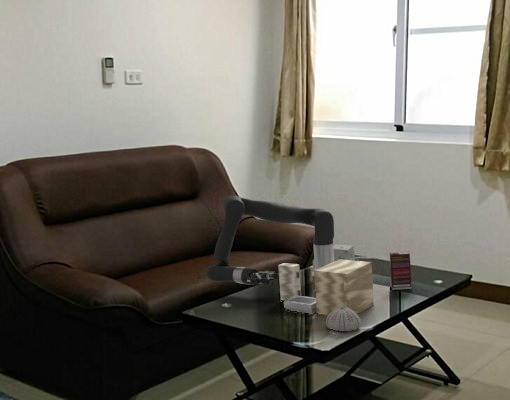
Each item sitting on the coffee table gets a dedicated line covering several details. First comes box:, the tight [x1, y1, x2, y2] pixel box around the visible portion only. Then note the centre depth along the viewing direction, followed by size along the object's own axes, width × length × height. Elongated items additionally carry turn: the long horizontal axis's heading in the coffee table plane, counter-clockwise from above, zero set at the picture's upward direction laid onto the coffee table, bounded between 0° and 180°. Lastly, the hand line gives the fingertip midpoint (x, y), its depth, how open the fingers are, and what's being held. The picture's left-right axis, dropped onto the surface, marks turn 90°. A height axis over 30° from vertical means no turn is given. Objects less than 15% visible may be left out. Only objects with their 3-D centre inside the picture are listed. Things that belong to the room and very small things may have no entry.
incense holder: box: [333, 244, 356, 262], centre depth 394 cm, size 10×8×10 cm
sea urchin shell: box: [325, 307, 362, 332], centre depth 299 cm, size 13×14×8 cm
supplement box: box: [389, 251, 413, 291], centre depth 347 cm, size 9×5×16 cm, turn 84°
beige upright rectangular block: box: [278, 262, 302, 301], centre depth 339 cm, size 9×4×16 cm, turn 53°
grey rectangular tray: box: [283, 295, 317, 315], centre depth 327 cm, size 13×9×4 cm
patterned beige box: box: [311, 259, 375, 316], centre depth 323 cm, size 17×20×18 cm
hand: (275, 279), depth 344 cm, fingers open, 8 cm apart
